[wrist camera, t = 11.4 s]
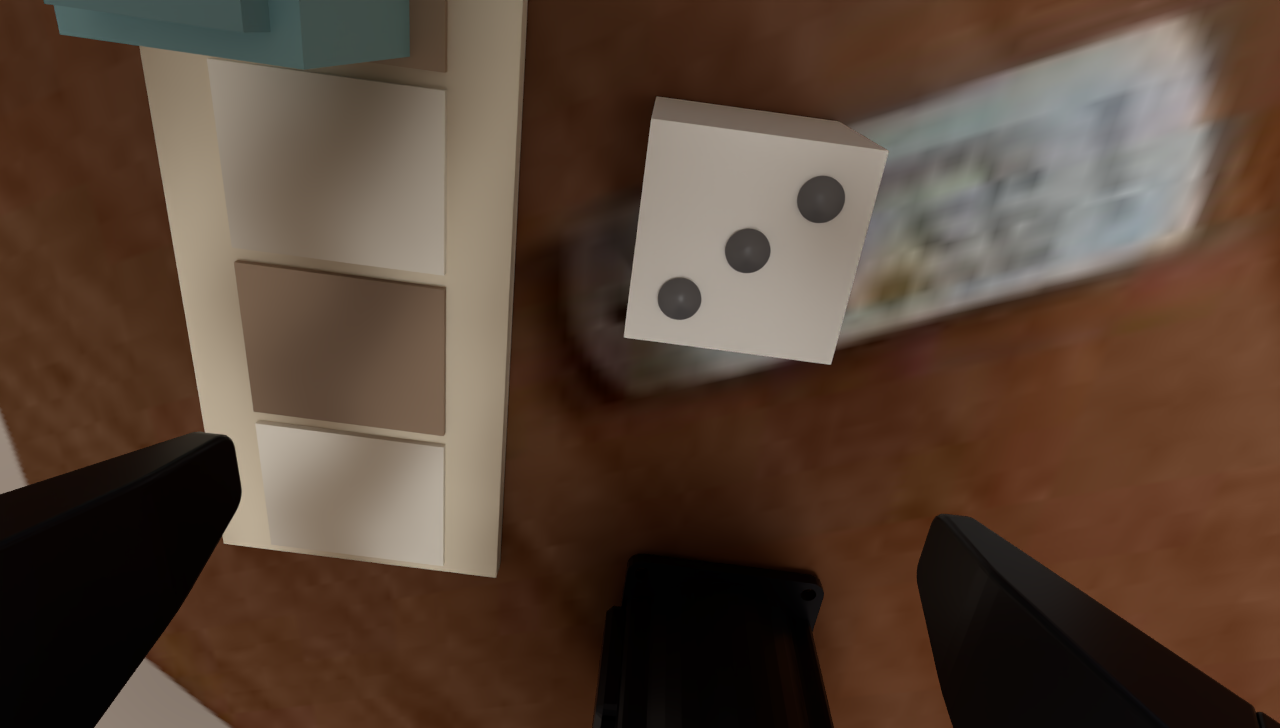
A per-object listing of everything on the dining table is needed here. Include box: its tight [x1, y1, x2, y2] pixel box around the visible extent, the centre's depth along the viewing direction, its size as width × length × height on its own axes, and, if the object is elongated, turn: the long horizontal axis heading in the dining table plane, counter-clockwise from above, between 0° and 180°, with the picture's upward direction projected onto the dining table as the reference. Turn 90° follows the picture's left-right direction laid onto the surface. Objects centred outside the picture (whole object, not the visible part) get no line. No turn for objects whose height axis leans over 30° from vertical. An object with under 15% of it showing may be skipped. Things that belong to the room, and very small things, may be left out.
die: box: [624, 96, 889, 365], centre depth 16 cm, size 4×4×5 cm
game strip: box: [139, 0, 528, 578], centre depth 19 cm, size 9×20×1 cm, turn 173°
